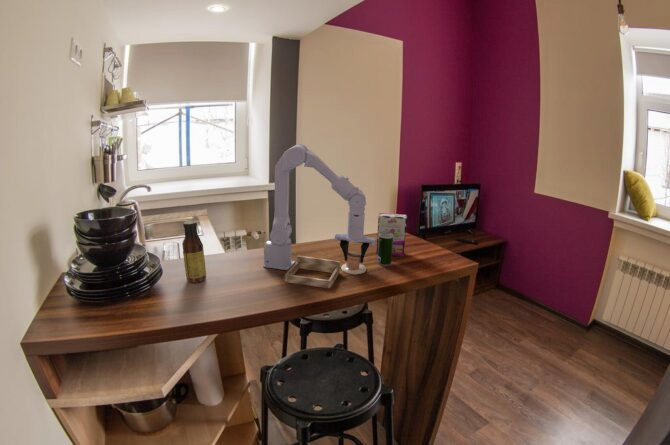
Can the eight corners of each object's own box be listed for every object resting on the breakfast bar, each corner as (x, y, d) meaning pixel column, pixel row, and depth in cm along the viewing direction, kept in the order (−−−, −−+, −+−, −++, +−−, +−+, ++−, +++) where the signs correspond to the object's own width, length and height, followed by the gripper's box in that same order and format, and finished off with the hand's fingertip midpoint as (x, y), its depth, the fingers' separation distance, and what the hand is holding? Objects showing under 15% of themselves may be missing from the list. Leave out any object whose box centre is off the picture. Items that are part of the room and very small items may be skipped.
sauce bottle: (210, 278, 123) (206, 221, 117) (196, 285, 118) (191, 226, 112) (195, 274, 126) (191, 218, 120) (181, 281, 120) (175, 223, 115)
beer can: (383, 267, 136) (385, 236, 133) (374, 262, 141) (376, 232, 137) (394, 264, 139) (396, 234, 136) (384, 259, 144) (387, 230, 140)
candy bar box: (403, 252, 152) (407, 214, 147) (403, 257, 147) (407, 217, 142) (376, 250, 153) (379, 212, 148) (375, 254, 149) (378, 215, 144)
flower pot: (343, 267, 132) (345, 255, 130) (348, 262, 136) (349, 250, 135) (357, 270, 130) (359, 258, 129) (361, 265, 135) (363, 254, 134)
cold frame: (284, 281, 122) (284, 269, 121) (297, 267, 134) (297, 255, 133) (329, 288, 119) (330, 275, 118) (339, 272, 131) (339, 261, 129)
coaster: (338, 272, 131) (338, 270, 131) (344, 262, 139) (344, 261, 139) (363, 275, 129) (363, 274, 129) (367, 266, 137) (367, 264, 137)
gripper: (332, 226, 127) (331, 262, 131) (374, 230, 124) (372, 268, 128) (337, 220, 134) (336, 255, 138) (377, 224, 130) (375, 260, 134)
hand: (353, 261), depth 133 cm, fingers closed on flower pot, 5 cm apart
